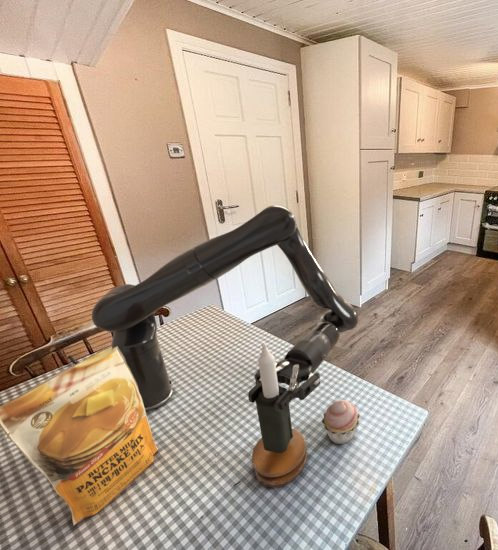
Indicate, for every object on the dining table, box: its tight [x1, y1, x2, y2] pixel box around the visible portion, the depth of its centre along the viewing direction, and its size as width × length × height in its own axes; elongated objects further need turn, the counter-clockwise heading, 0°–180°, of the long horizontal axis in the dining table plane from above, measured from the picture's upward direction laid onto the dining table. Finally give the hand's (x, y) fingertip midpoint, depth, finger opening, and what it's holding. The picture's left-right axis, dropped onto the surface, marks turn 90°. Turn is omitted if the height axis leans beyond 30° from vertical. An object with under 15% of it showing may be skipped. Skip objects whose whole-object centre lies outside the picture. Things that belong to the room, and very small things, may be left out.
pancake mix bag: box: [0, 345, 159, 526], centre depth 57 cm, size 7×19×28 cm, turn 160°
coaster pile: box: [251, 427, 308, 489], centre depth 66 cm, size 12×11×4 cm
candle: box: [255, 342, 293, 453], centre depth 60 cm, size 5×5×25 cm
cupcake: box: [321, 399, 361, 445], centre depth 72 cm, size 9×9×10 cm
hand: (263, 403), depth 58 cm, fingers closed on candle, 5 cm apart
